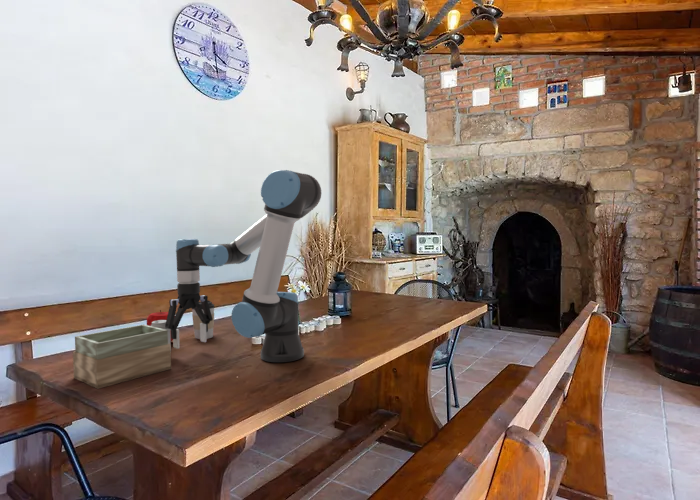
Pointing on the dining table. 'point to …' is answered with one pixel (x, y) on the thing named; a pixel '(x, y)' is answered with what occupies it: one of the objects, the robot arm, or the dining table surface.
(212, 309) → the coffee cup
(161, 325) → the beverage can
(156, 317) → the red rounded piece
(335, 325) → the dining table surface
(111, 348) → the wooden planter box
